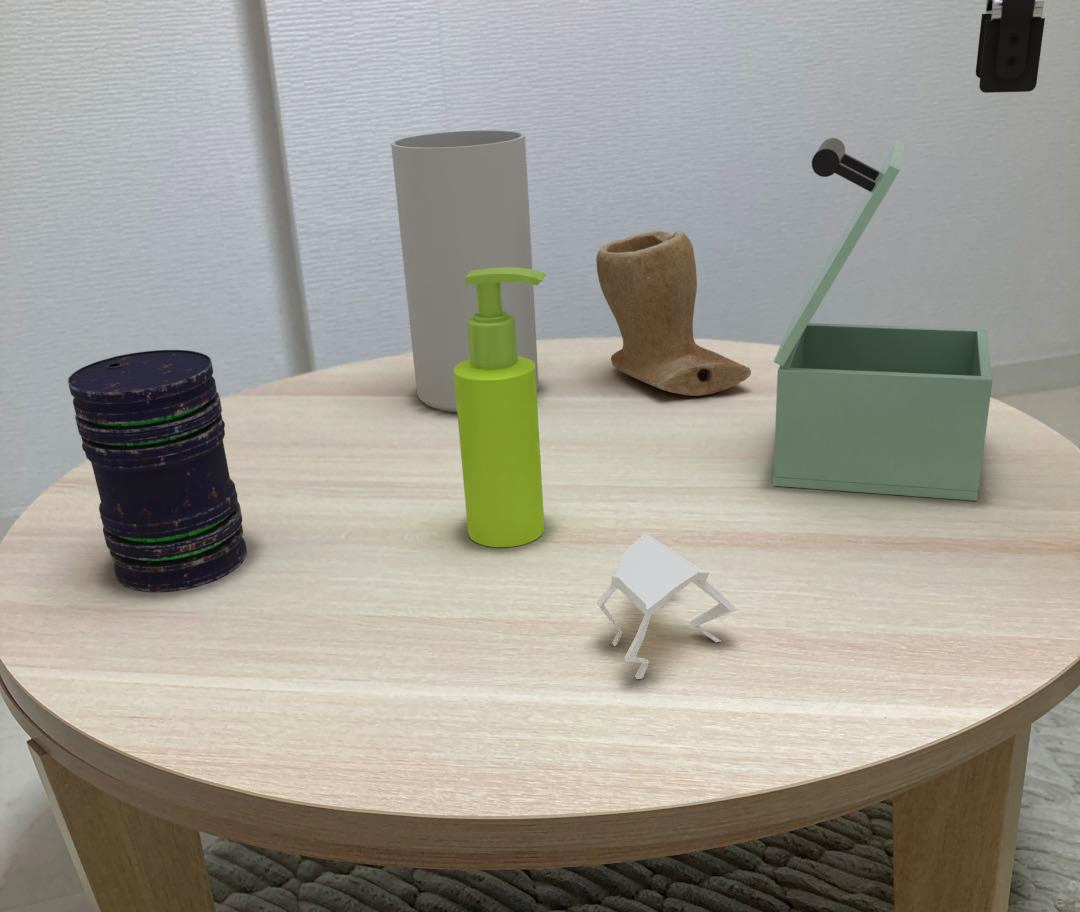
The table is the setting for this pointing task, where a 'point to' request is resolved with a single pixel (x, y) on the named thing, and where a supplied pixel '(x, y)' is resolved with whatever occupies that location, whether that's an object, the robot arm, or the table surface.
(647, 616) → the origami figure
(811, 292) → the box lid
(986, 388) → the green box
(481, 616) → the table surface
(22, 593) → the table surface
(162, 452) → the dark blue cylinder
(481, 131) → the cylinder vase
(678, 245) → the clay pipe
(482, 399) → the soap dispenser
